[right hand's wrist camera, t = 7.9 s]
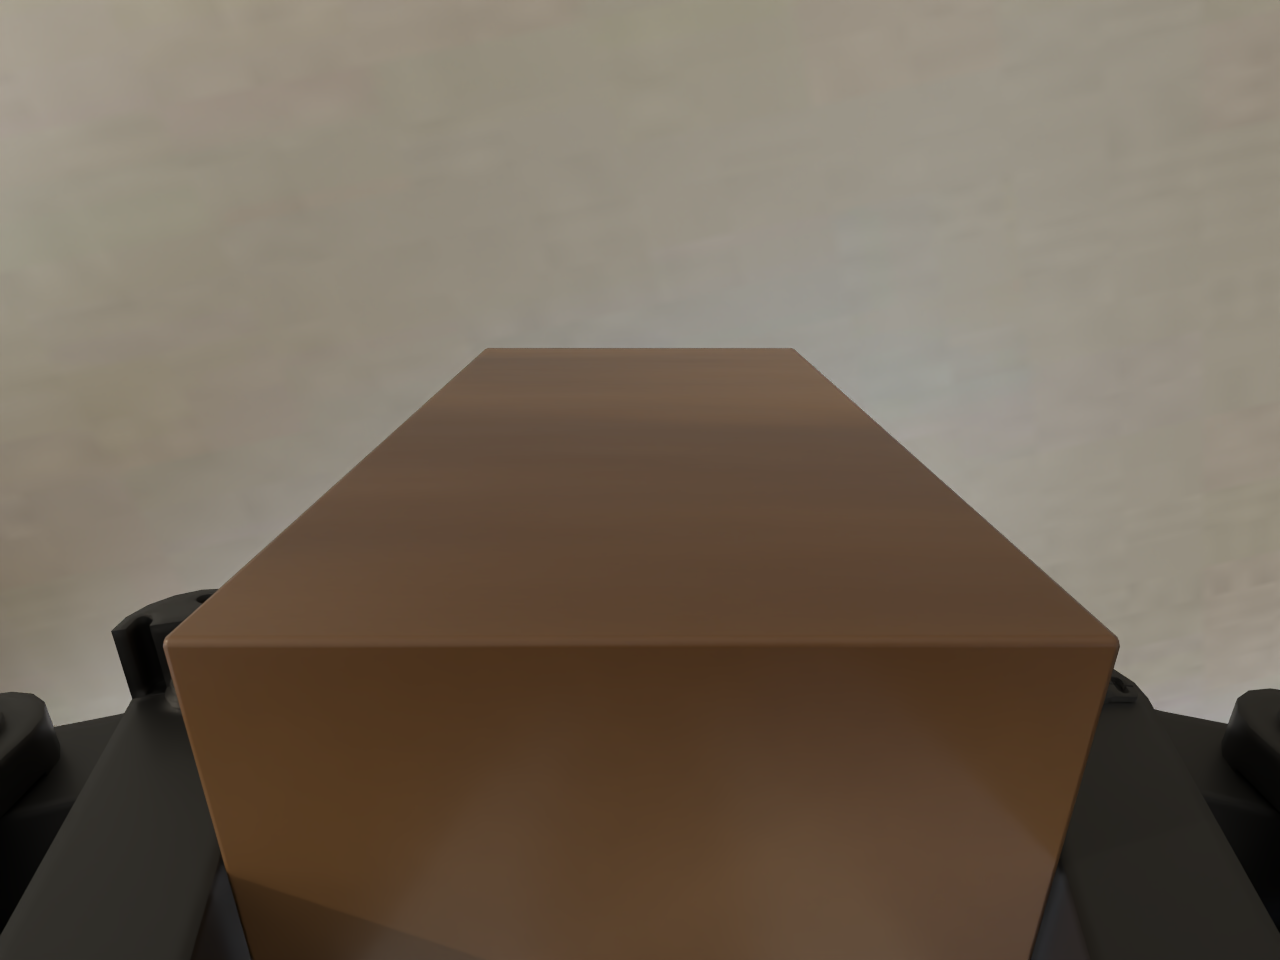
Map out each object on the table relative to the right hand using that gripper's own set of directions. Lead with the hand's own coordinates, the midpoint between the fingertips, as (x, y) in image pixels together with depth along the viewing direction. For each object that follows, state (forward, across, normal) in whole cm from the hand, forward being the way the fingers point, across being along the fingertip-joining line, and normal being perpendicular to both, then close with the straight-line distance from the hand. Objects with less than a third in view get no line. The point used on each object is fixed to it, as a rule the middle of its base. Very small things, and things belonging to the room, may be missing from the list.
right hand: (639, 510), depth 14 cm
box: (+1, 0, -8) cm, 8 cm away
